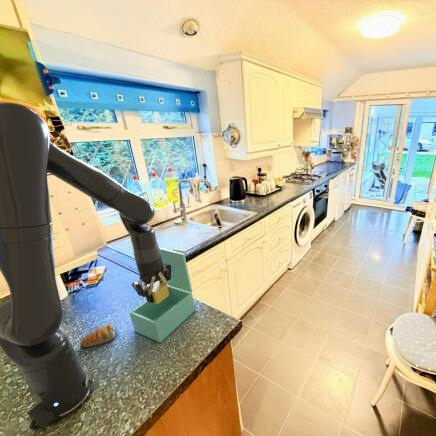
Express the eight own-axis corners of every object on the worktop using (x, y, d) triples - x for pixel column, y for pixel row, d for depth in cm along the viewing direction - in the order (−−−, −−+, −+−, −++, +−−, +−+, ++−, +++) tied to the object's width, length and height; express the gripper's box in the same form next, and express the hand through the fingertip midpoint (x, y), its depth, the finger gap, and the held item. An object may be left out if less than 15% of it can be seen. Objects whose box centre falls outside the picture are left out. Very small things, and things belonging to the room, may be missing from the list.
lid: (182, 254, 85) (193, 248, 89) (157, 248, 89) (168, 242, 94) (191, 292, 92) (200, 285, 96) (167, 284, 96) (177, 277, 101)
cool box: (160, 342, 81) (154, 323, 78) (135, 331, 86) (129, 312, 82) (195, 310, 96) (192, 293, 92) (172, 302, 100) (168, 285, 97)
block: (157, 304, 83) (154, 292, 81) (147, 300, 84) (144, 288, 82) (169, 295, 87) (166, 284, 85) (159, 291, 89) (156, 280, 87)
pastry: (81, 353, 77) (78, 344, 76) (82, 339, 82) (78, 331, 81) (116, 338, 83) (113, 330, 81) (115, 326, 88) (112, 318, 86)
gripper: (158, 245, 87) (167, 283, 93) (119, 265, 74) (132, 307, 81) (173, 249, 84) (181, 288, 90) (135, 270, 72) (147, 313, 78)
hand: (158, 296), depth 85 cm, fingers closed on block, 5 cm apart
